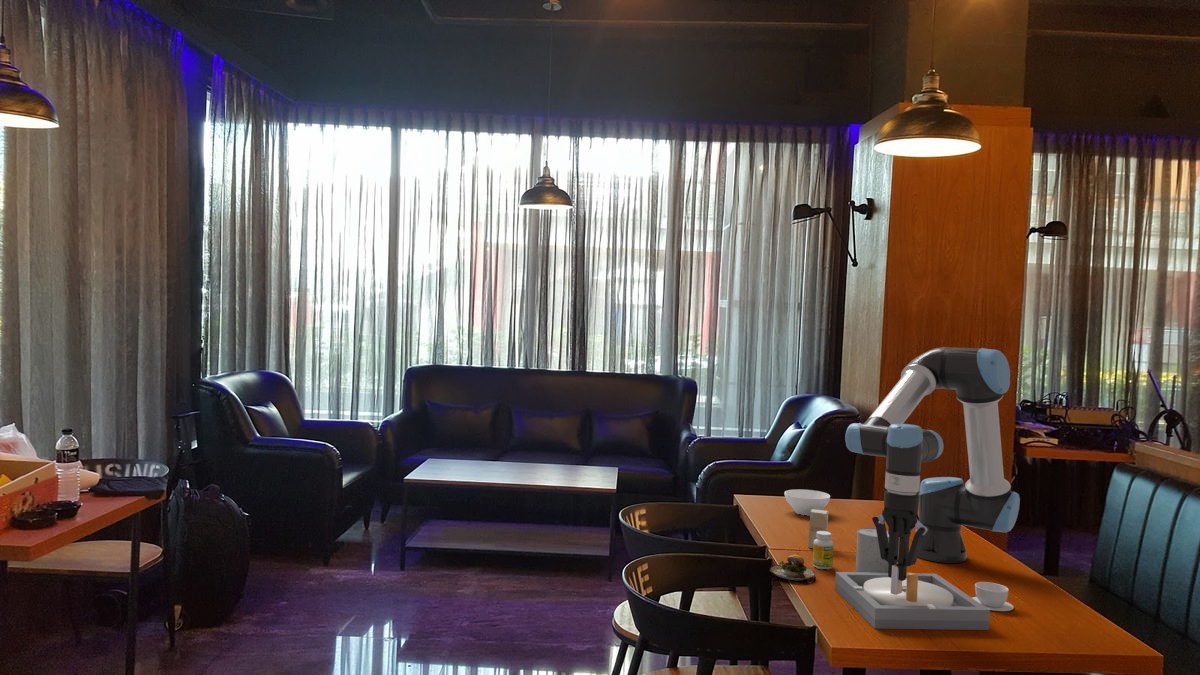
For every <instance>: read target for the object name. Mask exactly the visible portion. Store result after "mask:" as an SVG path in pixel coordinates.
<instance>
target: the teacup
mask: <svg viewBox="0 0 1200 675" xmlns="http://www.w3.org/2000/svg"><path fill="white" fill-rule="evenodd" d="M974 588H975V589H974V590H975V596H973V597H971V598H973V599H974V600H976V601H977V602H979V603H980V604H982V605H983V606H984V607H986V608H987V609H989V610H990V611H994V612H1010V611H1012V610H1014V607H1015V606H1014V605H1013V604H1012V603H1011V602H1007V600H1008V596H1009V591H1010V590H1009V588H1008V587H1007V586H1006V585H1002V584H999V583H995V582H991V581H990V582H989V581H978V582H976V583H974Z"/></svg>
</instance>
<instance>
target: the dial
mask: <svg viewBox="0 0 1200 675" xmlns="http://www.w3.org/2000/svg"><path fill="white" fill-rule="evenodd" d="M906 573H907V578H906V579H905V580H904V581H902V593H900V594H897V595H894V594H891V578H890V577H882V578H874V579H870V580H868V581H866V582H865V583H864V591H865V592H866V593H867V594H869V595H870V596H871V597H872V598H873V599H874V600H875V601H876V602H878V603H879V604H880V605H897V606H926V604H932V605H933V606H953V595H952V594H951V593H950V592H949V591H947V590H946V589H944V588H942V587H939V586H937V585H934V584H931V583H927V582H923V581H919V580H918V574H916V572H906Z"/></svg>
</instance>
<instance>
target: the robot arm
mask: <svg viewBox="0 0 1200 675" xmlns="http://www.w3.org/2000/svg"><path fill="white" fill-rule="evenodd" d="M1010 378H1011V369H1010V365H1009V362H1008V359H1007V357H1006V355H1005V354H1003V352H1002V351H1001V350H998V349H991V348H989V349H988V348H986V347H981V348H978V347H976V348H975V347H973V348H972V347H951V346H942V347H936V348H932V349H929V350H927V351H926V352H923V353H921V354H920V355H918V356H916V357H915V358H913V359H912V360H911V361H910V362H909V363H907V364H906V365H905V367H904V368H903V369H902V370H901V373H900V379H899V380H898V381H897V383H895V385H894V386H893V388H892V389H891V390H890V391H889V393H888V394H887V395H886V396H885V397H884V398H883V400H882V401H881V402H880V404H879V405H878V406H877V407H876V408H875V410H874V411H873V412H872V413H871V415H870V416H869V417H868V418H867V420H866V421H865V422H863V423H861V422H859V423H857V422H853V423H851V424H849V425H848V427H847V429H846V431H845V436H844V438H845V439H844V440H845V446H846V448H847V450H849V451H850V452H852V453H857V454H861V455H866V456H867V455H868V456H874V457H883V458H886V460H885V461H886V462H885V466H886V467H885V481H884V488H885V489H886V490H885V491H884V494H883V497H884V498H883V506H884V507H883V510H882V511H881V514H879V515H876V516H873V517H872V519H871V520H872V522H873V525H874V526H875V528H876V531H877V537H878V543H879V549H880V555H881V558H882V559H883V560H886V561H887V562H888V564H889V568H888V576H889V577H890V578H891V594H894V595H897V594H900V593H902V581H904V580H905V579H906V573H908V572H907V571H908V570H907V569H908V567H912V566H914V565H915V564H917V560H918V558H919V559H923V560H926V561H930V562H935V563H936V562H937V563H944V564H945V563H946V564H956V563H957V564H958V563H963V562H966V560H967V548H966V546H965V543H964V538H963V536H962V531H961V530H962V526H963V527H964V526H965V527H969V528H971V527H972V528H974V529H975V528H977V529H981V530H987V531H990V532H999V533H1005V534H1006V533H1009V532H1011V530H1012V529H1013V528H1014V526H1015V524H1016V521H1017V519H1018V517H1019V516H1018V515H1019V510H1020V504H1021V503H1020V502H1021V497H1020V494H1019V493H1017V492H1016V491H1012V486H1011V483H1010V482H1009V481H1008V480H1007V479H1005V475H1004V464H1003V451H1002V450H1003V449H1002V438H1001V427H1000V416H999V402H1000V401H1001V400H1002V399H1003V397H1004V394H1006V393H1007V392H1008V391H1009V388H1010V386H1011V385H1010V384H1011V380H1010ZM938 389H939V390H940V389H945V390H955V394H956V400H958V402H960V403H962V405H963V406H962V407H963V416H964V426H965V436H966V437H965V438H966V446H967V447H966V448H967V457H968V459H967V460H968V469H969V479H968V480H967V481H965V483H964V480H963V478H961V477H953V476H941V477H938V476H936V477H928V478H924V479H923V480H922V481H921V470H922V469H921V468H922V463H929V462H932V461H934V460H936V459H938V458H939V457H940V456H941V455H942V453H943V451H944V446H945V445H944V442H943V438H942V437H941V436H940V434H939V433H937V432H936V431H935V430H931V429H924V428H923V429H922V427H921V426H920V425H915V424H908V423H905V422H906V421H907V419H908V418H909V417H910V415H912V413H913V411H915V409H916V408H917V406H918V405H919V403H921V401H922V400H923V399H924V397H925V396H928V395H931V393H933V392H934V391H935V390H938ZM885 523H886V524H885ZM886 525H887V526H886ZM887 527H888V529H887ZM913 529H914V531H915V533H914V535H913V538H912V541H911V544H910V537H911V534H912V530H913ZM886 530H888V534H889V543H888V537H887V531H886Z"/></svg>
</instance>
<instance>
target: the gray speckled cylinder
mask: <svg viewBox="0 0 1200 675" xmlns="http://www.w3.org/2000/svg"><path fill="white" fill-rule="evenodd" d="M886 531H887V537H888V543H889V534H888V529H886ZM856 533H857V534H856V535H857V536H856V560H855V572H870V573H888V568H889V564H888V562H887V561H886V560H883V559H882V558H881V555H880V549H879V543H878V537H877V531H876V527H862V528H861V527H860V528H858V529H857V530H856Z"/></svg>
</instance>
